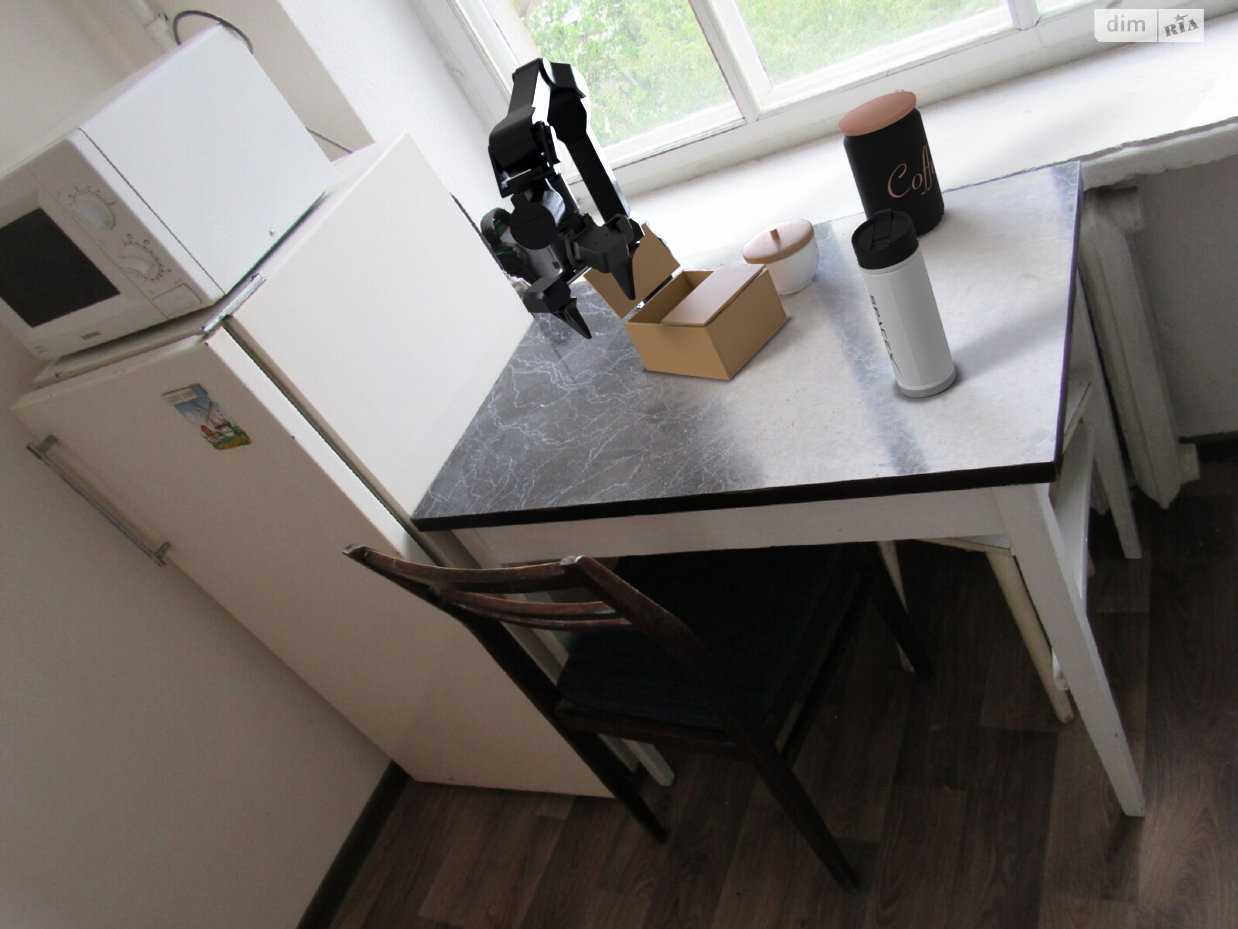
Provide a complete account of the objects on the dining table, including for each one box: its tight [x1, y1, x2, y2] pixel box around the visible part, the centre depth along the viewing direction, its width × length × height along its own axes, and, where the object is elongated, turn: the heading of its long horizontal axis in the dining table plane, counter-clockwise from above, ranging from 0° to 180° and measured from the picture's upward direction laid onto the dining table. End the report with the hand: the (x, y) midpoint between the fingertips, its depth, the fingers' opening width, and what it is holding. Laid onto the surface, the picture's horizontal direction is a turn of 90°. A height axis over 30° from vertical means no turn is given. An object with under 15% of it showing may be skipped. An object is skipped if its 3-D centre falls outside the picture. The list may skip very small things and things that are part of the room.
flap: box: [582, 223, 681, 321], centre depth 128 cm, size 8×14×1 cm
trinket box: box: [741, 218, 820, 296], centre depth 128 cm, size 11×11×9 cm
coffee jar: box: [837, 90, 946, 238], centre depth 124 cm, size 11×11×18 cm
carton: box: [623, 263, 789, 381], centre depth 124 cm, size 17×14×9 cm
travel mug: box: [850, 208, 957, 398], centre depth 93 cm, size 6×7×20 cm
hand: (611, 318), depth 118 cm, fingers open, 9 cm apart
